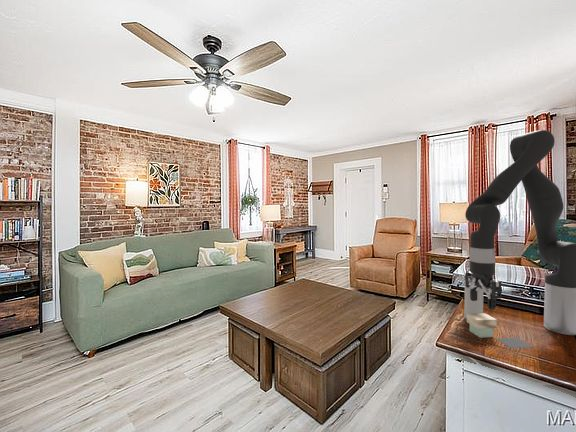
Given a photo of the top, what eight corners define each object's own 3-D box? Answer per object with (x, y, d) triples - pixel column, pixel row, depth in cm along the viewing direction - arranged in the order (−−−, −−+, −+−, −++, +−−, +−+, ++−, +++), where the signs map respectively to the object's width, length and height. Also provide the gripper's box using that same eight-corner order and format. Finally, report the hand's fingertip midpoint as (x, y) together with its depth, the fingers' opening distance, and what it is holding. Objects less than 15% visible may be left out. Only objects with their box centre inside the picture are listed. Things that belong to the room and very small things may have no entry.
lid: (485, 321, 102) (485, 313, 102) (496, 328, 96) (496, 319, 96) (466, 321, 102) (466, 313, 101) (477, 328, 96) (477, 320, 96)
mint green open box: (482, 332, 102) (482, 321, 102) (493, 338, 97) (493, 327, 97) (469, 332, 102) (469, 322, 101) (479, 339, 97) (479, 328, 96)
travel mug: (486, 324, 108) (487, 274, 107) (468, 323, 109) (469, 273, 109) (479, 317, 114) (480, 270, 113) (461, 316, 116) (462, 269, 115)
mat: (516, 339, 96) (517, 337, 96) (534, 348, 90) (534, 347, 90) (494, 339, 96) (494, 338, 96) (510, 349, 89) (510, 347, 89)
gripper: (509, 263, 91) (509, 311, 92) (477, 255, 105) (478, 297, 106) (487, 264, 91) (487, 313, 91) (458, 256, 105) (459, 298, 106)
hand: (482, 304), depth 99 cm, fingers open, 8 cm apart
